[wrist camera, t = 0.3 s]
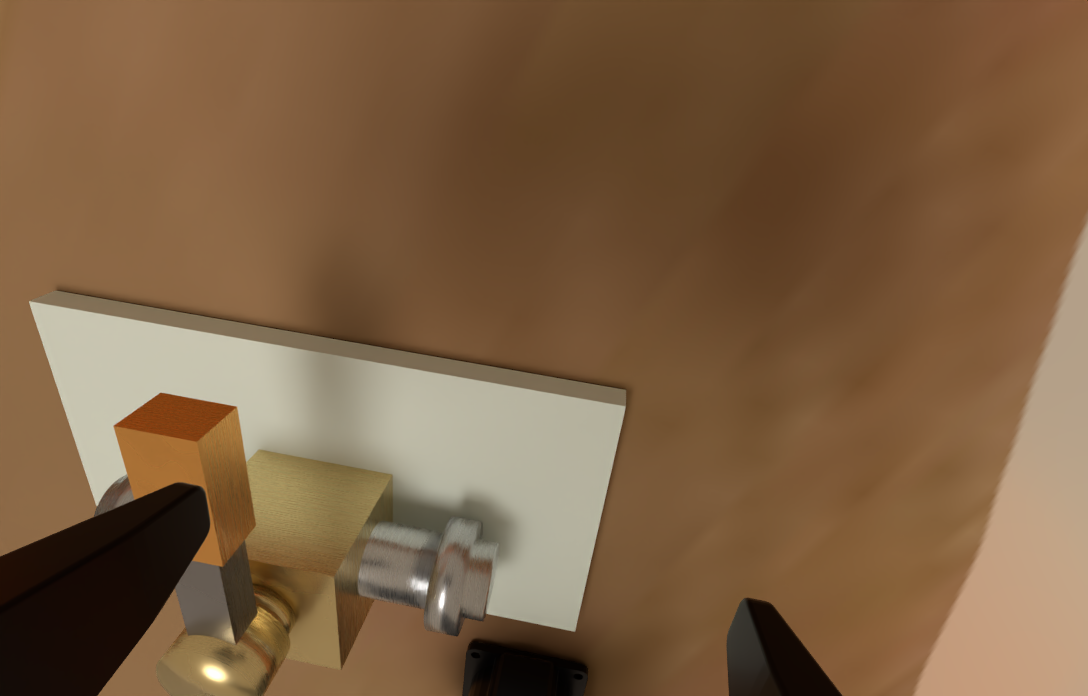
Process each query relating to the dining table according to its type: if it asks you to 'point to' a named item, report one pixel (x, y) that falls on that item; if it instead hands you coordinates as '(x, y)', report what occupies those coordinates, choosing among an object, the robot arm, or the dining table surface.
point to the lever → (207, 547)
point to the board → (365, 428)
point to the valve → (348, 555)
